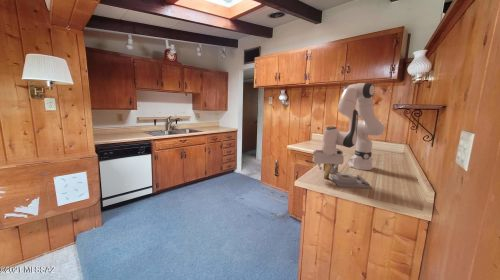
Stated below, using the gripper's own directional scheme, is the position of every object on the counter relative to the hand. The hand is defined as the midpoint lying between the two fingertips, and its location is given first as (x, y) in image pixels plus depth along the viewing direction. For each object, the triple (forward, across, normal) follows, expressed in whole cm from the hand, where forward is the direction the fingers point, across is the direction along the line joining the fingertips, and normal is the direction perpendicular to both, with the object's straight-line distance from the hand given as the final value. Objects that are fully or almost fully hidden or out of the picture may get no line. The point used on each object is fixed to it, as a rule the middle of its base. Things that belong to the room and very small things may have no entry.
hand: (326, 169), depth 145 cm
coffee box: (+7, +8, +16) cm, 19 cm away
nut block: (+6, +14, -6) cm, 16 cm away
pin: (+6, 0, 0) cm, 7 cm away
